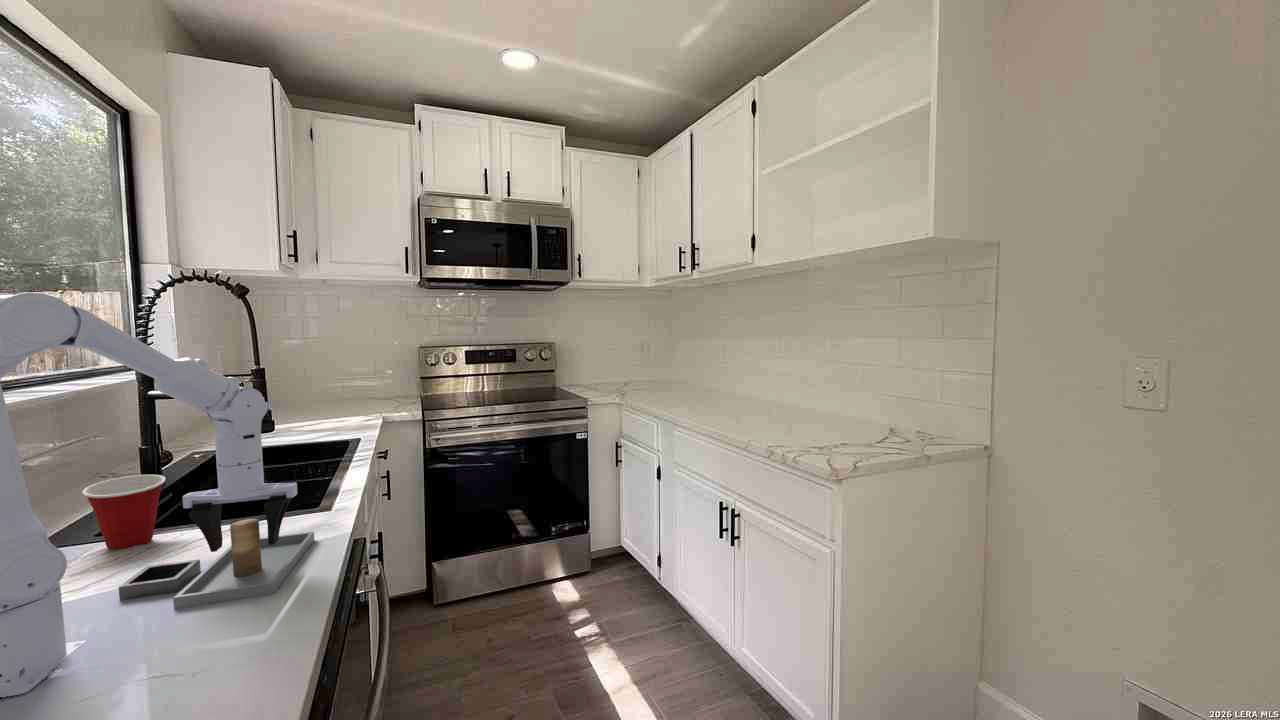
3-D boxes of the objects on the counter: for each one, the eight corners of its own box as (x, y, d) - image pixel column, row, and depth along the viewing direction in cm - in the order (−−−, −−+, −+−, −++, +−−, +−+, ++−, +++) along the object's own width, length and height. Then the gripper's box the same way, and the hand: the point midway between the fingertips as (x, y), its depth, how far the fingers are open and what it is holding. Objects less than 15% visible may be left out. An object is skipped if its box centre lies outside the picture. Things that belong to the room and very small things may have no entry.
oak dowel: (256, 574, 80) (253, 525, 80) (229, 578, 79) (225, 528, 78) (265, 564, 84) (262, 517, 83) (239, 568, 82) (236, 520, 82)
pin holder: (177, 595, 76) (176, 579, 75) (120, 604, 73) (118, 587, 73) (200, 574, 82) (199, 559, 82) (148, 582, 80) (147, 566, 80)
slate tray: (274, 597, 75) (273, 583, 75) (174, 613, 71) (173, 597, 71) (314, 543, 94) (313, 531, 94) (237, 553, 90) (236, 541, 90)
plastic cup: (86, 565, 86) (80, 496, 85) (88, 546, 94) (82, 483, 93) (172, 544, 94) (168, 481, 93) (167, 529, 102) (163, 470, 101)
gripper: (301, 452, 86) (305, 529, 87) (197, 460, 82) (202, 542, 82) (287, 462, 79) (291, 546, 80) (172, 471, 75) (179, 560, 76)
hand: (245, 545), depth 81 cm, fingers open, 7 cm apart
